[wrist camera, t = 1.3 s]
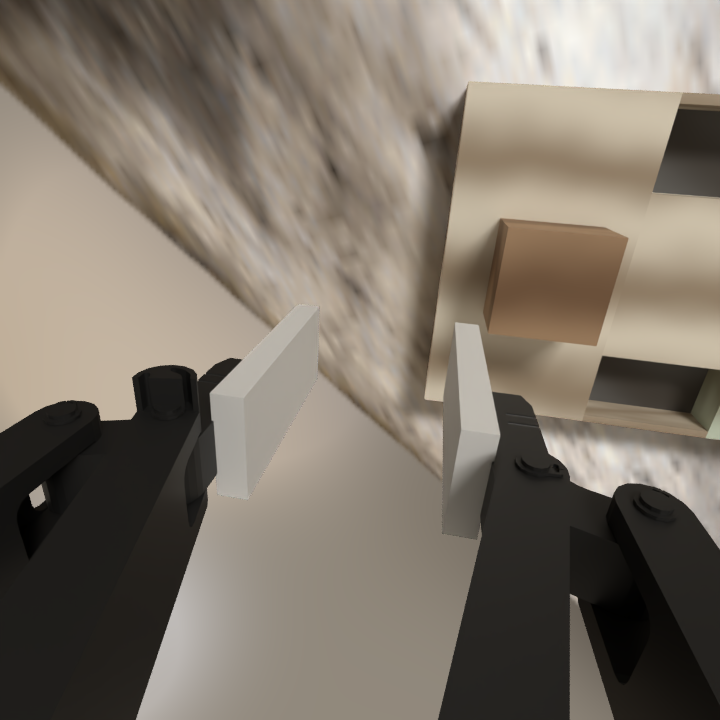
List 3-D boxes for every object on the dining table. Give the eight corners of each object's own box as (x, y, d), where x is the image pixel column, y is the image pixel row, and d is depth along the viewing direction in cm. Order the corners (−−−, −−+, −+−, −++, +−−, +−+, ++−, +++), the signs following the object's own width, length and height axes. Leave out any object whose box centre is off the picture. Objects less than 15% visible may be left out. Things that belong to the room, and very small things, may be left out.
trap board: (466, 88, 28) (471, 72, 23) (1041, 119, 25) (1210, 109, 19) (425, 381, 37) (422, 420, 31) (851, 438, 33) (932, 493, 27)
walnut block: (500, 217, 28) (508, 227, 24) (604, 227, 27) (628, 238, 24) (482, 312, 31) (488, 333, 27) (578, 323, 30) (596, 346, 26)
